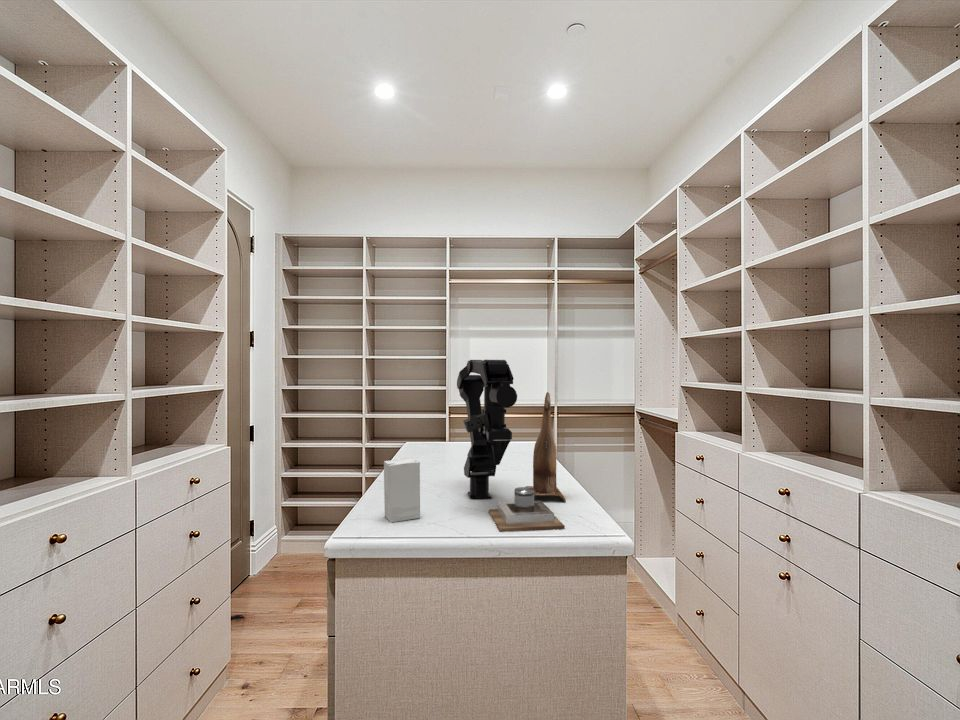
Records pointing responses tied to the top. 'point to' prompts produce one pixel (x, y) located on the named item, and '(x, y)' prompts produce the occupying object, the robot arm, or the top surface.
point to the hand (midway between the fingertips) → (494, 461)
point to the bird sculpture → (545, 457)
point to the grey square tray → (525, 514)
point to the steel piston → (524, 499)
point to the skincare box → (402, 489)
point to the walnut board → (503, 527)
